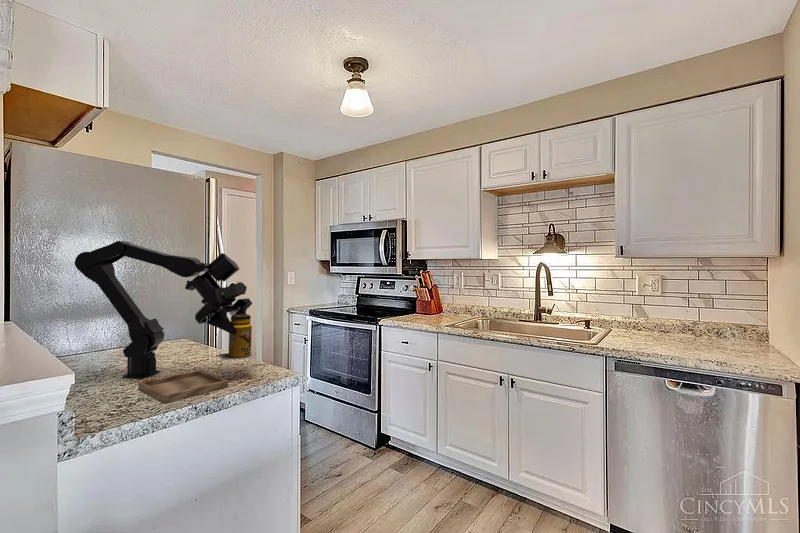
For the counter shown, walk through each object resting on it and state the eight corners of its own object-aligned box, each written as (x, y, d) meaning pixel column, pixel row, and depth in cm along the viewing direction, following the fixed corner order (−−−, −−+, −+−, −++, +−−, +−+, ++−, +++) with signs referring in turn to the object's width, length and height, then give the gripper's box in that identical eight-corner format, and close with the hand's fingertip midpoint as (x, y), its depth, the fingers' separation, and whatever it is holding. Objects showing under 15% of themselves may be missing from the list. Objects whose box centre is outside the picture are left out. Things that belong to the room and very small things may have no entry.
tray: (164, 403, 92) (164, 396, 91) (138, 389, 101) (138, 382, 101) (228, 386, 104) (228, 380, 104) (199, 375, 113) (199, 369, 113)
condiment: (254, 357, 112) (255, 316, 112) (222, 361, 107) (223, 317, 107) (248, 352, 118) (250, 312, 118) (218, 355, 114) (219, 314, 113)
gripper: (205, 274, 105) (240, 317, 102) (247, 272, 123) (278, 309, 121) (179, 301, 107) (213, 345, 104) (225, 296, 125) (254, 333, 122)
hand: (242, 331), depth 113 cm, fingers closed on condiment, 6 cm apart
